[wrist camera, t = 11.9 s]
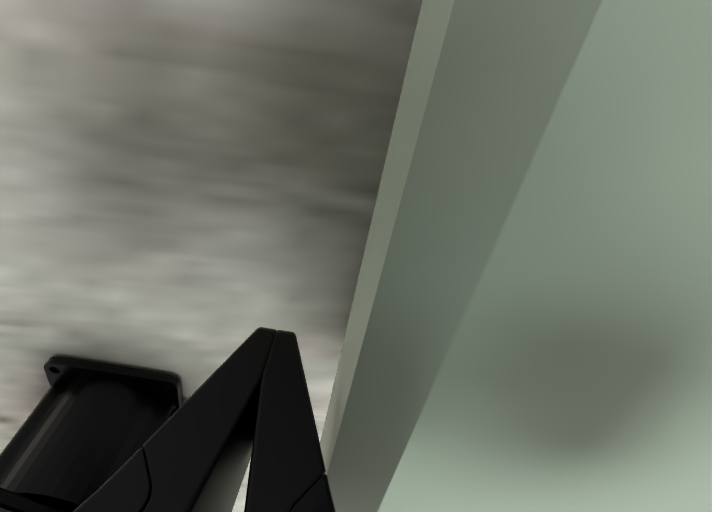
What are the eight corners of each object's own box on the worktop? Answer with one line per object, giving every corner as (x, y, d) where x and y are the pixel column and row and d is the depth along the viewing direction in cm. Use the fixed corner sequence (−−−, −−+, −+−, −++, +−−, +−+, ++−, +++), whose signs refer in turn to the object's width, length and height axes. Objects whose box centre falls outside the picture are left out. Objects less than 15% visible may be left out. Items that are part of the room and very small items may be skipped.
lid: (307, 495, 15) (292, 604, 12) (446, -108, 6) (494, -145, 3) (724, 557, 16) (786, 670, 13) (1443, 118, 6) (2086, 225, 4)
